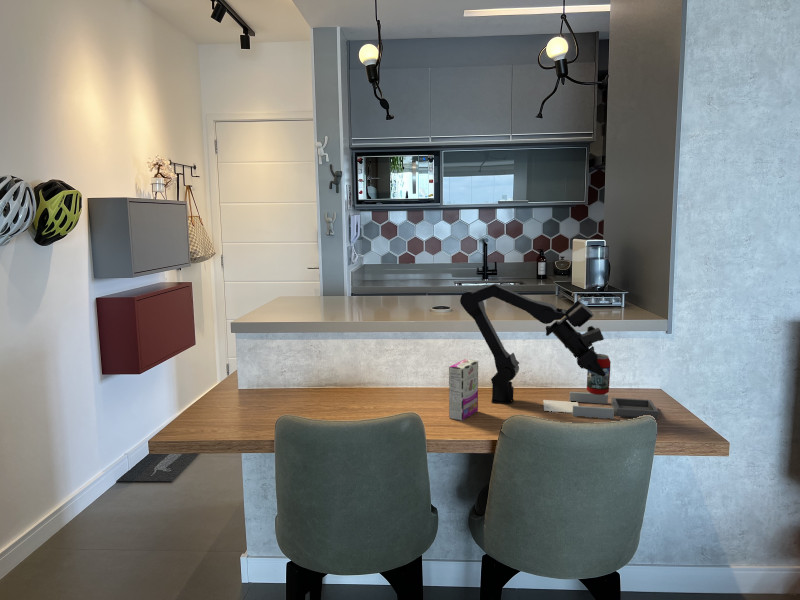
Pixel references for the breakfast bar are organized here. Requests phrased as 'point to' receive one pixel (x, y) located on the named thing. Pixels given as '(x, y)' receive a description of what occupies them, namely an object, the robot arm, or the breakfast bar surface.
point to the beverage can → (599, 377)
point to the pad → (559, 406)
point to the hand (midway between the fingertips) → (603, 372)
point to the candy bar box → (463, 389)
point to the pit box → (633, 407)
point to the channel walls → (591, 411)
